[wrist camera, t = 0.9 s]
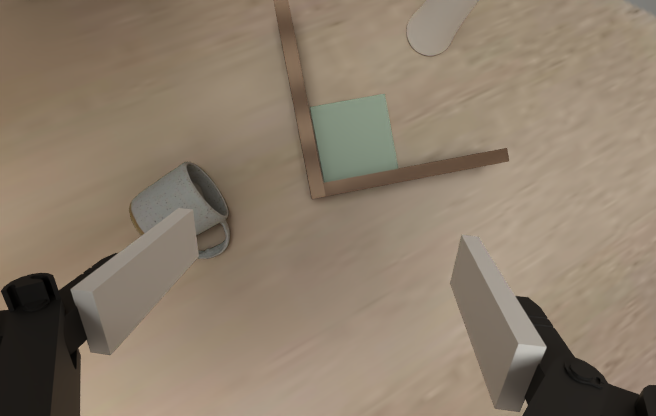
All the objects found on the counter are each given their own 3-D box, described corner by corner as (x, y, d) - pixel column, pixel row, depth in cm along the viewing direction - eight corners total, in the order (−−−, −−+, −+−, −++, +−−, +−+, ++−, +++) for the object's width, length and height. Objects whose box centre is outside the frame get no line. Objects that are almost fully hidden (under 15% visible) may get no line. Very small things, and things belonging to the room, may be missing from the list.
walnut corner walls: (278, 25, 41) (272, -5, 35) (452, -4, 43) (475, -37, 37) (311, 198, 42) (312, 199, 36) (481, 166, 43) (509, 161, 37)
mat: (309, 107, 42) (309, 107, 42) (384, 94, 42) (384, 93, 42) (324, 182, 42) (324, 182, 42) (397, 168, 43) (398, 168, 43)
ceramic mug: (145, 199, 41) (108, 201, 34) (201, 163, 41) (177, 156, 34) (195, 269, 42) (170, 287, 34) (249, 233, 42) (237, 242, 35)
